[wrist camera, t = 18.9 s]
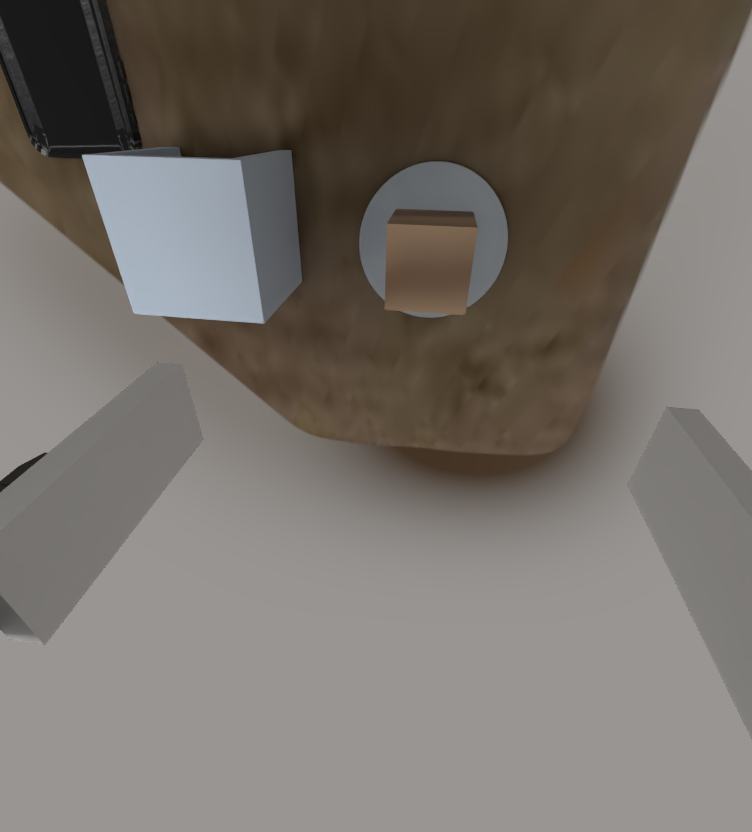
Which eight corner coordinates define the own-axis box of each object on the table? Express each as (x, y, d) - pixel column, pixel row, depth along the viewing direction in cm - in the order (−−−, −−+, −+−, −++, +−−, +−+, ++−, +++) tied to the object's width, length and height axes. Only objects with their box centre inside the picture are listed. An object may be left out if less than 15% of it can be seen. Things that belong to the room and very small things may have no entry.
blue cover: (168, 146, 28) (81, 154, 22) (291, 150, 28) (240, 160, 21) (197, 274, 33) (133, 313, 27) (302, 281, 33) (263, 323, 26)
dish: (361, 158, 27) (358, 159, 26) (520, 163, 26) (523, 164, 25) (361, 307, 33) (359, 312, 32) (491, 316, 32) (493, 322, 31)
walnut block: (395, 208, 28) (386, 223, 23) (473, 211, 27) (477, 227, 23) (393, 284, 30) (384, 309, 26) (463, 288, 30) (465, 315, 26)
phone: (35, 156, 29) (-103, -202, 21) (48, 155, 30) (-79, -188, 22) (140, 160, 28) (43, -211, 20) (150, 159, 29) (61, -197, 21)
